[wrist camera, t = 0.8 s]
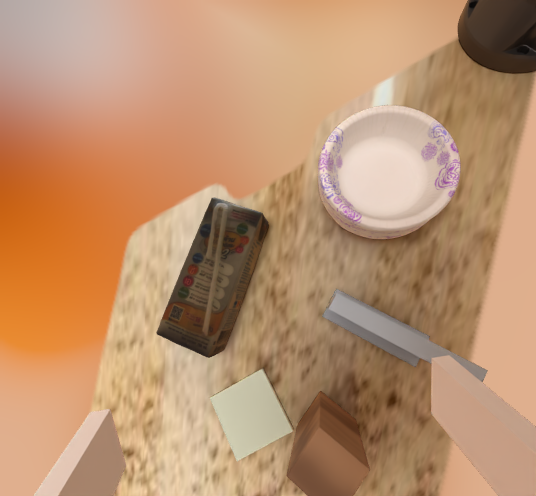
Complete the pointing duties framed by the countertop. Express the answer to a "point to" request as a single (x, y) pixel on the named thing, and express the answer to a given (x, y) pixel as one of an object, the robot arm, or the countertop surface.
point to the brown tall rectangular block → (327, 451)
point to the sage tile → (251, 414)
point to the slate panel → (389, 333)
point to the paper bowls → (387, 171)
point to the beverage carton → (214, 278)
